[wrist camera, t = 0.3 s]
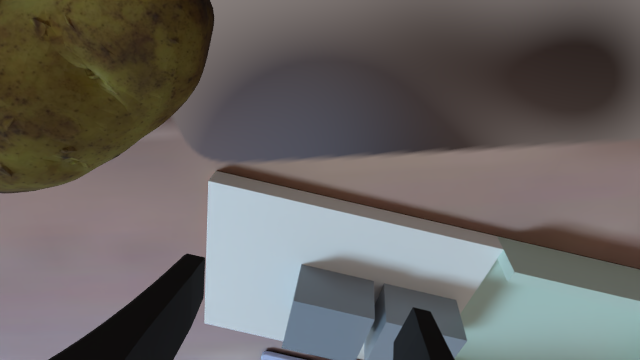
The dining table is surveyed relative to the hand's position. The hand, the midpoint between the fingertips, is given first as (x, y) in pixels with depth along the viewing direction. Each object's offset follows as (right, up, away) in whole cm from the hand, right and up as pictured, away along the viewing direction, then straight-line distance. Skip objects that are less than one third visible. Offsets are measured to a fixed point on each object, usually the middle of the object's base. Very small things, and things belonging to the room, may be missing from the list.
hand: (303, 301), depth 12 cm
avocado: (-10, +11, +7) cm, 16 cm away
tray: (+18, -7, +13) cm, 23 cm away
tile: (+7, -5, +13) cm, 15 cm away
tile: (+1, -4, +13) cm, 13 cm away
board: (+2, -3, +13) cm, 14 cm away
